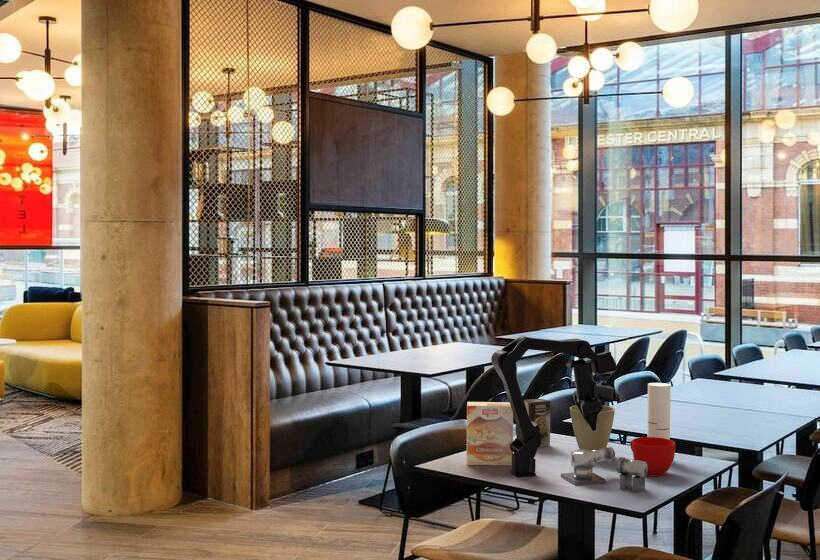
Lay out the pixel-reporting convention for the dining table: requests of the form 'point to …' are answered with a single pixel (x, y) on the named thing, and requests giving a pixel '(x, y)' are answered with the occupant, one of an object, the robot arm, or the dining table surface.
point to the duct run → (632, 468)
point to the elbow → (591, 457)
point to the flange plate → (582, 481)
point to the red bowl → (654, 453)
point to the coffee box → (540, 417)
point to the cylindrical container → (658, 410)
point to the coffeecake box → (489, 433)
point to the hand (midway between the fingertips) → (591, 426)
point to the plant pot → (584, 432)
